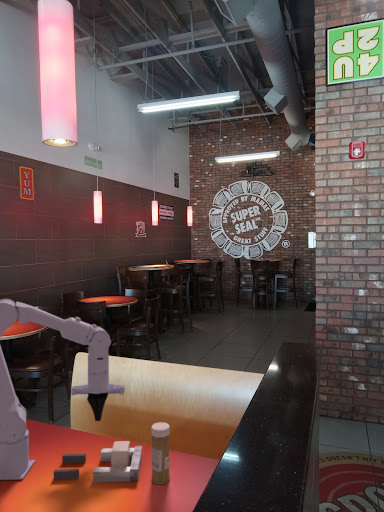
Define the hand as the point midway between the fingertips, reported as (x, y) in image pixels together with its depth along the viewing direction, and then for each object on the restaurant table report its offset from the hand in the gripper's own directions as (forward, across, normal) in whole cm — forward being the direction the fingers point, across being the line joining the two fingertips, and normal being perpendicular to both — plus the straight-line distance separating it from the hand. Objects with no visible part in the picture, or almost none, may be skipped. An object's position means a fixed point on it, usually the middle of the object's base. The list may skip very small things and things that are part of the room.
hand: (98, 419), depth 104 cm
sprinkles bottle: (+10, -18, +13) cm, 24 cm away
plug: (+10, -8, +8) cm, 15 cm away
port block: (+9, -6, +8) cm, 14 cm away
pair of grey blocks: (+9, +6, +8) cm, 14 cm away
